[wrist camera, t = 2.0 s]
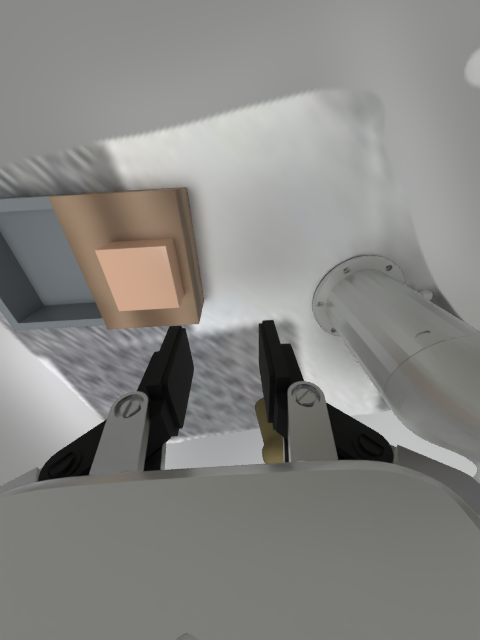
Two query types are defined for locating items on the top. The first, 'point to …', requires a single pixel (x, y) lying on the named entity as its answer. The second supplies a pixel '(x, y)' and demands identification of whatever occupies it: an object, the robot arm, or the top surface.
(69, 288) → the box
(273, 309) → the top surface
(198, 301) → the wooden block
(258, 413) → the cork
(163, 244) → the terracotta block
